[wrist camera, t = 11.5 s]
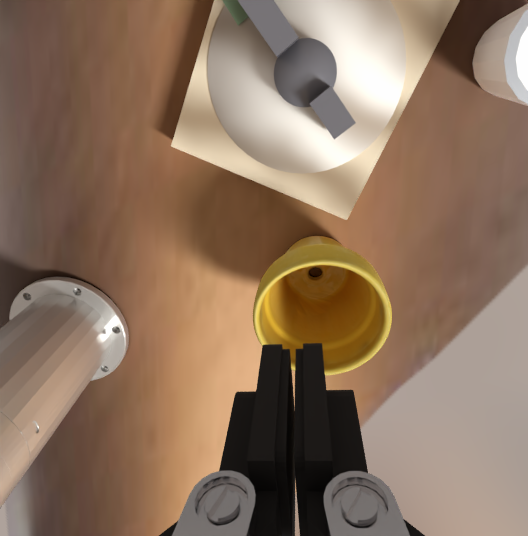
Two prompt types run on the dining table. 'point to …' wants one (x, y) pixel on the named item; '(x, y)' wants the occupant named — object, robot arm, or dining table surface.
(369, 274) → the plant pot
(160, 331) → the dining table surface
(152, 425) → the dining table surface
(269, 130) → the tuner board
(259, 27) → the grey dial pointer
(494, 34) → the white cup
